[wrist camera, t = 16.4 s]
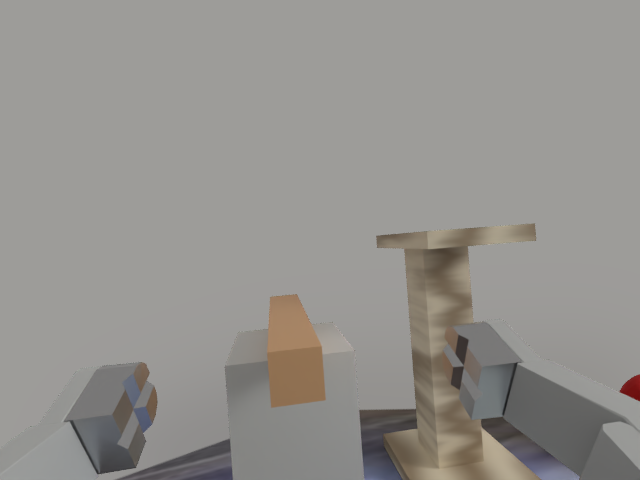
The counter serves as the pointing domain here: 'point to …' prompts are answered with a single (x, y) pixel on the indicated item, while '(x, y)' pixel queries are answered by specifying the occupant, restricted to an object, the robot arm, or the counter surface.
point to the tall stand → (429, 377)
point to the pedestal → (293, 415)
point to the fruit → (632, 388)
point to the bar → (293, 354)
